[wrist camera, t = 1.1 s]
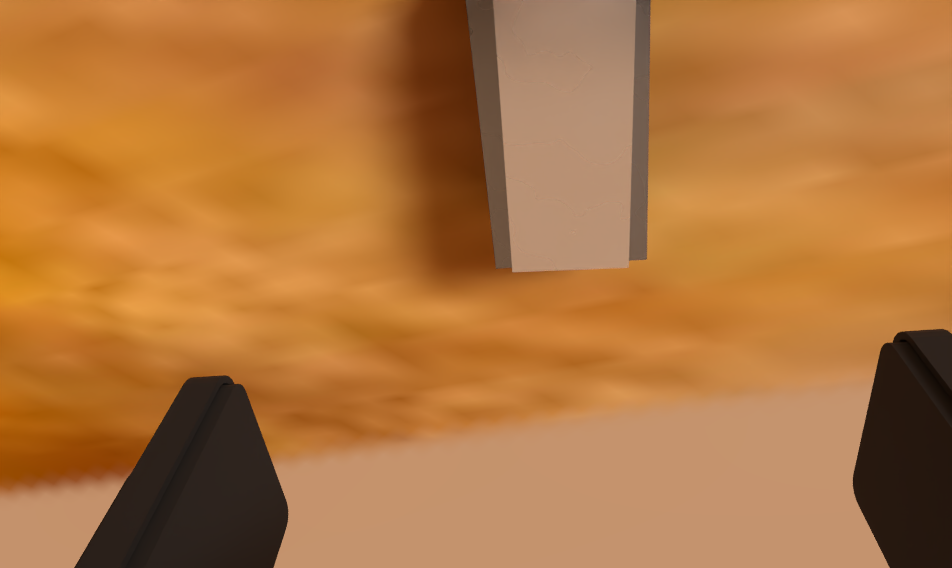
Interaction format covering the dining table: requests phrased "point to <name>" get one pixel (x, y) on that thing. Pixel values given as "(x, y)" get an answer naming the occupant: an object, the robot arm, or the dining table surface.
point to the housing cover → (567, 130)
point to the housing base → (492, 136)
